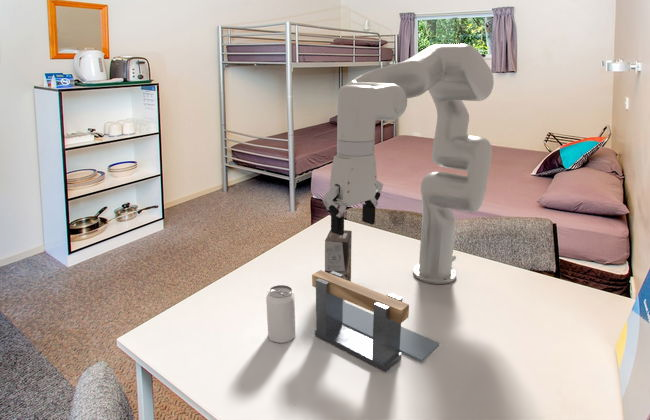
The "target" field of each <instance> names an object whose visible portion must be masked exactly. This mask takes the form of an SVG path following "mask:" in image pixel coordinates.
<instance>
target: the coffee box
mask: <svg viewBox="0 0 650 420" xmlns="http://www.w3.org/2000/svg"><path fill="white" fill-rule="evenodd" d="M352 235H353V232H352V230H347V229H346V230H345V229H344V234H343V235H338V234H335V233H332V232H331V229H330V230H329V232H328V234H327V237H326V238H325V240H324V271H325V272H327V273H330V272H332V271H334V272H337V273H340V274H342V275H343V279H345V280H348V281H350V282H352V237H353V236H352Z"/></svg>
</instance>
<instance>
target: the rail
mask: <svg viewBox="0 0 650 420" xmlns="http://www.w3.org/2000/svg"><path fill="white" fill-rule="evenodd" d="M317 279H322V280H324V281H327V282H329V293H330V294H332V295H335V296H337V297H339V298H342V299H343V301H347V302H349V303H350V304H351V303H352V304H353V305H356V306H358V307H361V308H363V309H365V310H368V311H370V312H371V313H374V304H375V303H376V302H378V303H381V304H383V305H386V306H388V307H389V319H391V320H393V321H395V322H398V323H400V324H401V325H402V323H403V322H404V321H406V320H407V319H408V318H409V315H410V314H409V313H410V304H409V303H407V302H403V301H402V302H401V301H399V300H396V299H394V298H391V297H389V296H387V295H386V294H383V293H381V292H378V291H375V290H373V289H371V288H368V287H365V286H362V285H360V284H359V283H355V282H353V281H351V282H350V281H348V280H345V279H342V278H340V277H337V276H335V275H332V274H330V273H327V272H325V270H321V269H319V270H318V271H316V272H314V273H312V274H311V280H312V281H311V283H312V284H311V286H312V287H314V288H316V280H317Z"/></svg>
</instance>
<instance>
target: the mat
mask: <svg viewBox="0 0 650 420" xmlns="http://www.w3.org/2000/svg"><path fill="white" fill-rule="evenodd" d="M373 319H374V313H372V312H368V311H366V310H364V309H361V308H359V307H357V306H355V305H352V304H351V303H348V302H345V301H343V323H342V325H343V326H345V327H347V328H349V329H351V330H353V331H355V332H357V333H360V334H362V335H364V336H366V337H368V338H370V339H372V340H373ZM440 344H441V343H440V342H439V341H436V340H434V339H431V338H430V337H429V338H428V337H427V336H425V335H422V334H420V333H417V332H415V331H413V330H410V329H408V328H405V327H403V326H401V334H400V353H401V354H404V355H405V356H407V357H410V358H412V359H414V360H416V361H418V362H420V363H423V362H424V361H425V360H426V359H427V358H428V357H429V356H431V354H432V353H433V352H435V351H436V349H438V348H439V346H441V345H440Z"/></svg>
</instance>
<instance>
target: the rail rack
mask: <svg viewBox="0 0 650 420" xmlns="http://www.w3.org/2000/svg"><path fill="white" fill-rule="evenodd" d="M330 274H332V275H335V276H337V277H340V278H342V279H343V275H342V274H340V273H337V272H334V271H332V272H330ZM386 296H389V297H391V298H394V299H396V300H399V301H401V302H403V296H399V295H396V294H395V293H391V292H390V293H388V294H387V295H386ZM343 302H344V299H342V298H339V297H337V296H335V295H332V294H330V293H329V282H327V281H324V280H322V279H317V280H316V287H315V307H316V308H315V323H316V324H315V325H316V326H315V327H316V330H314V337H315V338H318V339H319V340H321V341H324V342H325V343H326V344H329V345H331V346H332V347H335V348H336V349H339V350H341V351H343V352H345V353H346V354H348V355H350V356H353V357H354V358H356V359H358V360H360V361H361V362H363V363H366V364H368V365H369V366H371V367H373V368H376V369H378V370H379V371H381V372H383V373H385V374H386V373H387V372H388V371H389V370H391V369H392V368H393V367H395V365H396V364H398V362H400V361H401V359H402V353H401V352H400V334H401V327H402V323H401V324H400V323H398V322H395V321H393V320H391V319H389V307H388V306H386V305H383V304H381V303H378V302H376V303H375V304H374V312H373V315H374V319H373V339H372V338H369V337H367V336H365V335H363V334H361V333H359V332H357V331H355V330H352V329H350V328H348V327H346V326H344V325H342V323H343Z"/></svg>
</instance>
